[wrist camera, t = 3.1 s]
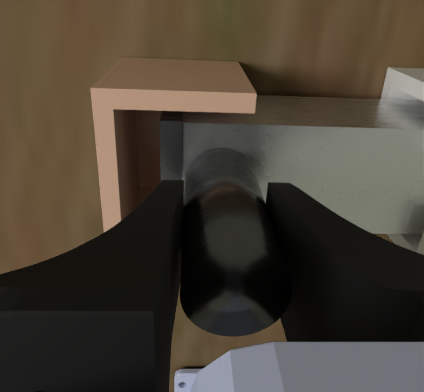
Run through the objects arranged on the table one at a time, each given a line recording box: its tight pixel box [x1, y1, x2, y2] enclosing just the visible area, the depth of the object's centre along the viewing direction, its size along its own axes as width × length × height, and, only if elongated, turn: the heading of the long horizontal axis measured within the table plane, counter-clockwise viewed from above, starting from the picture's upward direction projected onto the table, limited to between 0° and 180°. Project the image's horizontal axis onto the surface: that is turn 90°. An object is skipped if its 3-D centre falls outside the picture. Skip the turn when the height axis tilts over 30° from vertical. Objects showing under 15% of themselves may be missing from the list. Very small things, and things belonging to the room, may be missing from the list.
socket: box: [91, 57, 257, 232], centre depth 16 cm, size 6×5×6 cm
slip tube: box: [160, 95, 424, 336], centre depth 13 cm, size 4×12×10 cm, turn 87°
